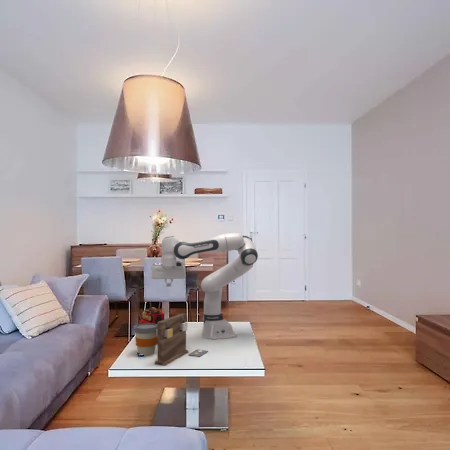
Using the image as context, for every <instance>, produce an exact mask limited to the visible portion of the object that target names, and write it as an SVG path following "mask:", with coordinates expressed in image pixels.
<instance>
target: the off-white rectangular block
mask: <svg viewBox="0 0 450 450" xmlns="http://www.w3.org/2000/svg"><path fill="white" fill-rule="evenodd" d="M180 330H182V331H185V330H186V331H187V330H188V322H187V321H186V322H185V323H181V322H180Z"/></svg>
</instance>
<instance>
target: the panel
mask: <svg viewBox="0 0 450 450" xmlns="http://www.w3.org/2000/svg"><path fill="white" fill-rule="evenodd" d="M180 322H181V323H185V322H187V314H186V313H183V312H182V313H178V314H176V315H173V316H171V317H168V318H164V320H162V321H159V322H157V344H156V346H157V349H156V351H157V354H156V355H157V356H156V357H157V359H156V360H155V361H154V365H158V366H164V367H165V366H167V365H168V364H169V365H170V363H172V362H174V361H176V360H177V359H180V358H181V357H183V356H185V355H186V354H189V350H188V349H187V330H185V331H182V330H180ZM171 328H173V336H172V337H170V338H167V337H164V329H171Z"/></svg>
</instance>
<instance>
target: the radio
mask: <svg viewBox="0 0 450 450" xmlns="http://www.w3.org/2000/svg"><path fill="white" fill-rule="evenodd" d="M141 315H142V316H141V317H142V318H141V319H139V321H138V325H139V324H145V323H153V324H157V322H159V321H162V320H165V313H164V312H160V310H157V308H156V307H153V306H152V307H151V308H150V309H145V310H144V311H142V314H141Z"/></svg>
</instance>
